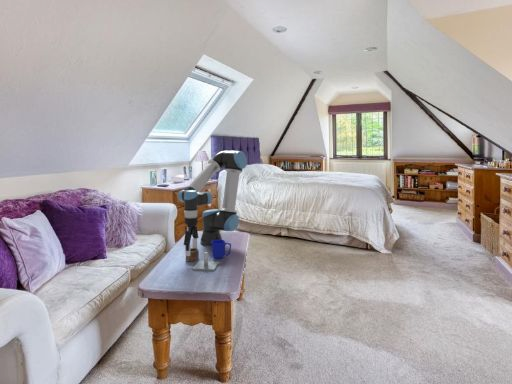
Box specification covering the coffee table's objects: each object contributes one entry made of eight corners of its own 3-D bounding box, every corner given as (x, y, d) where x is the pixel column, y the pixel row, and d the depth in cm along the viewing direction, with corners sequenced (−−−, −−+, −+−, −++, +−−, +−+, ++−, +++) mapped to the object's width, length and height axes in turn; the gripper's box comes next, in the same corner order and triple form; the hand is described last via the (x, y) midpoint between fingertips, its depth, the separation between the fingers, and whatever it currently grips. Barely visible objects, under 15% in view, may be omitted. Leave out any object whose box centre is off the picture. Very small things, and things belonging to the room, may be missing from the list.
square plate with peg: (198, 262, 190) (198, 249, 188) (218, 263, 188) (218, 249, 187) (192, 270, 178) (192, 256, 177) (214, 271, 176) (213, 257, 175)
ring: (188, 257, 198) (188, 248, 197) (199, 257, 197) (199, 248, 196) (184, 261, 191) (184, 251, 190) (196, 262, 190) (196, 252, 189)
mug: (229, 260, 193) (229, 244, 191) (209, 259, 195) (209, 243, 194) (232, 255, 201) (232, 240, 199) (214, 254, 203) (213, 239, 202)
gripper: (191, 212, 203) (191, 245, 206) (177, 221, 178) (178, 258, 181) (203, 213, 202) (203, 246, 205) (190, 221, 177) (191, 259, 180)
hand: (191, 252), depth 193 cm, fingers open, 13 cm apart
